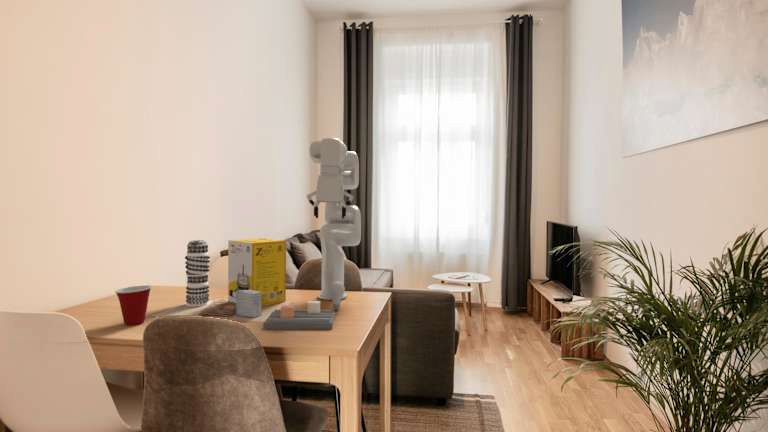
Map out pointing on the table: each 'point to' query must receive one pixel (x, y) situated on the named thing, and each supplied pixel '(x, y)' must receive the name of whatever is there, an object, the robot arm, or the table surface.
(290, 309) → the orange cube
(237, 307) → the medicine box
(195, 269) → the decorative candle
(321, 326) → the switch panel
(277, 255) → the packaging box
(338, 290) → the lightbulb
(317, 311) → the off-white block
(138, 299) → the plastic cup
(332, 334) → the table surface
